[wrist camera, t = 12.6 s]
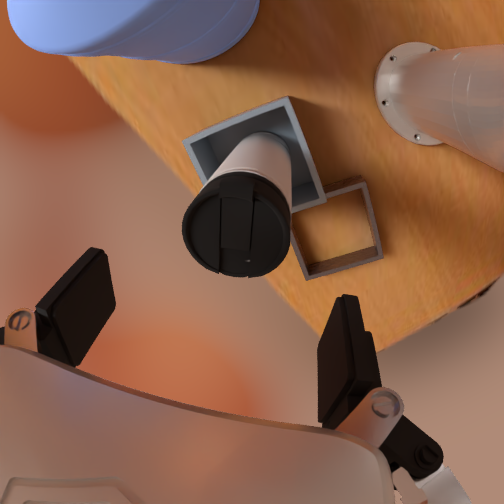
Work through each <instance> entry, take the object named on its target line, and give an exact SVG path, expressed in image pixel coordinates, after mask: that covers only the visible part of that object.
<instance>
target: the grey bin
mask: <svg viewBox="0 0 504 504" xmlns="http://www.w3.org/2000/svg"><path fill="white" fill-rule="evenodd" d="M258 131H268V132H272V133H274V134H277V135H278V136H280V137H281V138H282V139H283V140H284V141H285V142H286V144H287V145H288V147H289V149H290V153H291V191H292V212H291V213H294V212H298V211H301V210H304V209H307V208H310V207H313V206H316V205H320V204H323V203H326V202H327V200H326V196H325V193H324V190H323V187H322V183H321V180H320V177H319V175H318V172H317V169H316V166H315V163H314V161H313V158H312V155H311V152H310V150H309V147H308V144H307V142H306V139H305V136H304V134H303V131H302V129H301V126H300V124H299V121H298V119H297V116H296V114H295V111H294V109H293V106H292V104H291V101H290V99H289V97H288V96H285V97H282V98H279V99H277V100H274V101H271V102H268V103H266V104H263V105H260V106H258V107H255V108H253V109H250V110H248V111H245V112H243V113H240V114H238V115H235V116H233V117H231V118H228V119H226V120H223V121H221V122H219V123H217V124H214V125H212V126H210V127H208V128H205V129H203V130H201V131H199V132H197V133H195V134H194V135H192V136H190V137H188V138H186V139H185V140H183V141H182V142H183V144H184V147H185V149H186V151H187V153H188V155H189V157H190V159H191V161H192V163H193V165H194V167H195V169H196V171H197V173H198V175H199V177H200V180H201V182H202V184H203V186H204V185H205V184H206V182H207V181H208V180H209V179H210V177H211V176H212V175H213V174H214V173H215V171H216V170H217V169H218V168H219V167H220V165H221V164H222V163H223V162H224V161H225V159H226V158H227V157H228V156H229V155H230V153H231V152H232V151H233V150H234V149H235V148H236V146H237V145H238V144H239V143H240V142H241V141H242V140H243V139H244V138H245V137H246V136H247V135H249V134H251V133H254V132H258Z"/></svg>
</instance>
